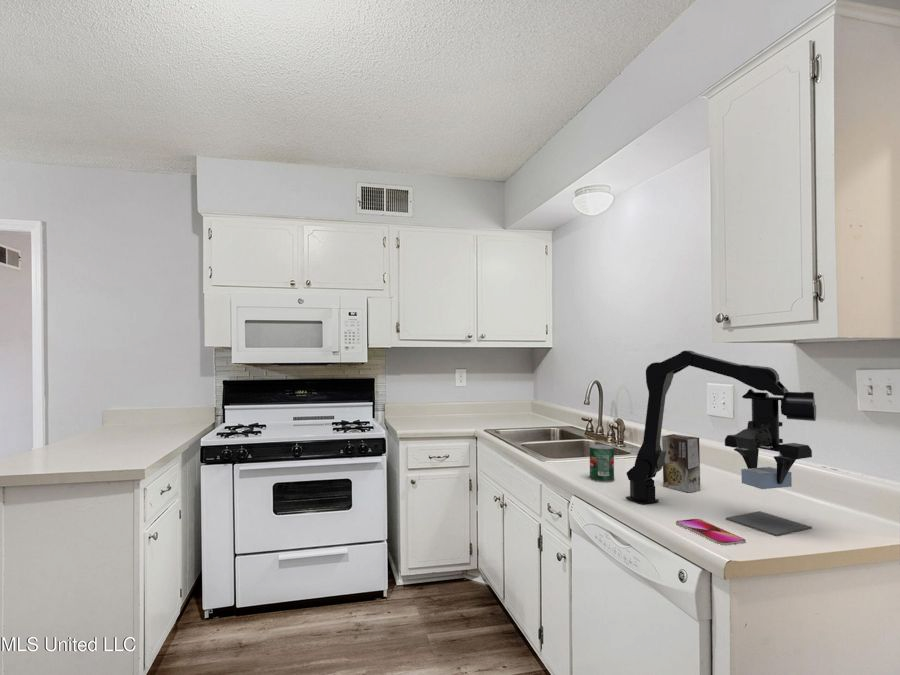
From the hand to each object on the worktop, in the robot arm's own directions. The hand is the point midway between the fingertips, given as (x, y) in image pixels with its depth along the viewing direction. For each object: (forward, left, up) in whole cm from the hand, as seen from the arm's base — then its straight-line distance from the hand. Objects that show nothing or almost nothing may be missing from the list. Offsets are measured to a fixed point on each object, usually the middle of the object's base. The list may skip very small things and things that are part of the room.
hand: (766, 480), depth 125 cm
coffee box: (-32, +8, -11) cm, 35 cm away
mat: (0, 0, -10) cm, 11 cm away
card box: (0, 0, -1) cm, 1 cm away
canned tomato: (-51, -7, -11) cm, 53 cm away
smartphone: (-1, -18, -11) cm, 22 cm away
